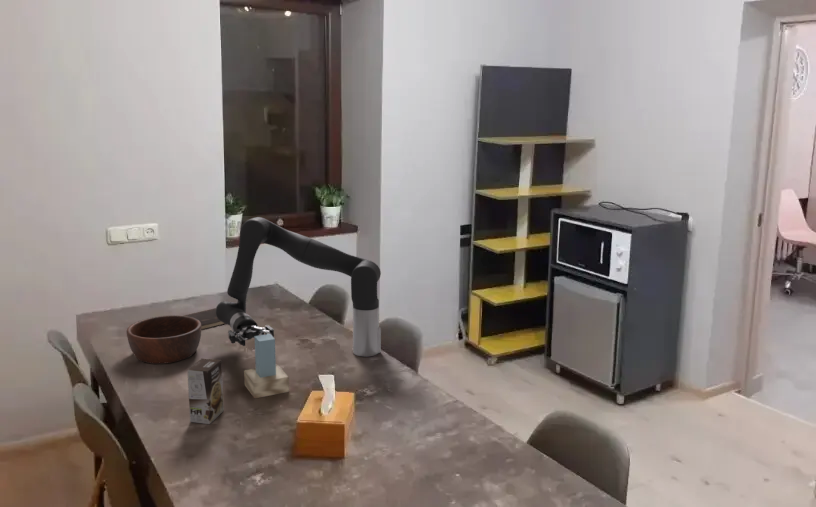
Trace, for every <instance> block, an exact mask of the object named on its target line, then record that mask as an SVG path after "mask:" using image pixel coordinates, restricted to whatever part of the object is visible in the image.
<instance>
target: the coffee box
mask: <svg viewBox="0 0 816 507" xmlns="http://www.w3.org/2000/svg"><path fill="white" fill-rule="evenodd" d="M222 367H223V366H222V359H215V358H214V359H213V358H200V360H198V361H197V362H195V363H194V364H193V365H192V366H190V367H189V368H187V385H188V386H187V387H188V388H187V389H188V390H187V391H188V406H189V408H188V409H189V422H190V423H197V424H204V425H210V424H212V423H213V422H214V421H215V420H216V419H217V418H218V417H219V416H220V415H221V414H222V413H223V412H224V410H225V409H224V407H225V406H224V391H223V390H224V389H223V369H222Z"/></svg>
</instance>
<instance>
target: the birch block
mask: <svg viewBox="0 0 816 507" xmlns="http://www.w3.org/2000/svg"><path fill="white" fill-rule="evenodd" d="M243 370H244V369H243ZM243 373H244V374H243V375H244V386H245V388H246V389H247V390H248V392H249V393H250V394H251V396H252V398H254V399H258V398H264V397H268V396H273V395H274V396H275V395H279V394H280V395H281V394H283V393H288V392H290V382H289V380H290V379H289V378H290V376H289V375H288V374H287V373H286V372H285V371H284V370H283V368H282V367H280V366H279V364H278V363H276V375H273V376H267V377H262V378H260V377H259V375H258V374H257V373H256V367H255V368H250V369H245V370H244V371H243Z"/></svg>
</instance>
